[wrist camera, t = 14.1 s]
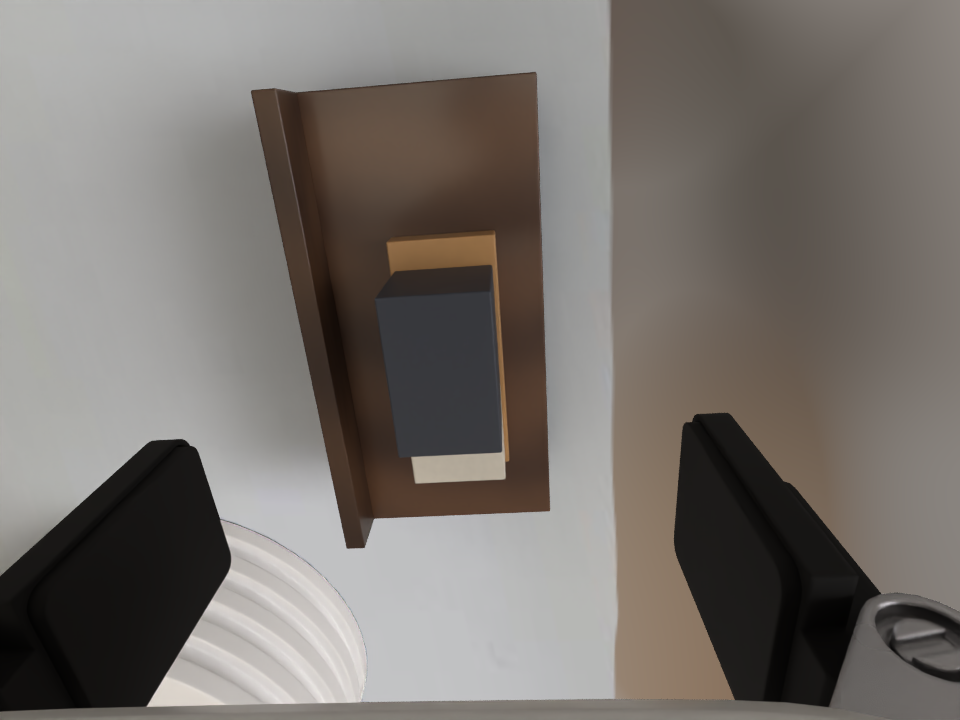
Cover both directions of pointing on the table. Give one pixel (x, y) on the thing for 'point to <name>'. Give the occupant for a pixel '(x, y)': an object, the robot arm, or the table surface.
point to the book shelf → (365, 267)
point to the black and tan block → (445, 355)
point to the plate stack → (268, 636)
